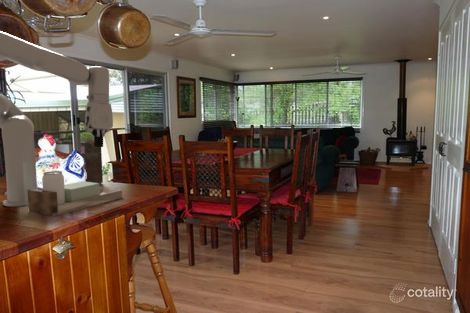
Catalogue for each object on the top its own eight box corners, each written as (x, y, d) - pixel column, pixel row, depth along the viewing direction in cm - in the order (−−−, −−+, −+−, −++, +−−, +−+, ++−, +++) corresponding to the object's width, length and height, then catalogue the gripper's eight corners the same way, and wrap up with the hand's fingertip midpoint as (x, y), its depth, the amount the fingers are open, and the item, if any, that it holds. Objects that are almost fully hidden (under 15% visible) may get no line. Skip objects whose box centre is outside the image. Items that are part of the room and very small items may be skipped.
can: (57, 210, 120) (55, 174, 119) (39, 209, 121) (37, 173, 120) (69, 205, 127) (67, 171, 125) (52, 205, 128) (50, 170, 126)
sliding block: (54, 203, 129) (53, 186, 128) (83, 196, 139) (82, 181, 139) (72, 206, 125) (71, 189, 124) (100, 198, 135) (99, 183, 134)
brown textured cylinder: (90, 183, 172) (88, 140, 170) (105, 183, 172) (103, 140, 170) (83, 186, 165) (80, 141, 162) (99, 186, 164) (97, 141, 162)
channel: (28, 212, 122) (27, 189, 121) (100, 194, 149) (99, 176, 148) (52, 216, 117) (51, 193, 116) (122, 197, 143) (121, 178, 142)
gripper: (89, 98, 134) (89, 148, 136) (120, 100, 147) (120, 146, 149) (75, 98, 138) (75, 147, 140) (107, 100, 151) (106, 145, 153)
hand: (98, 146), depth 144 cm, fingers closed
